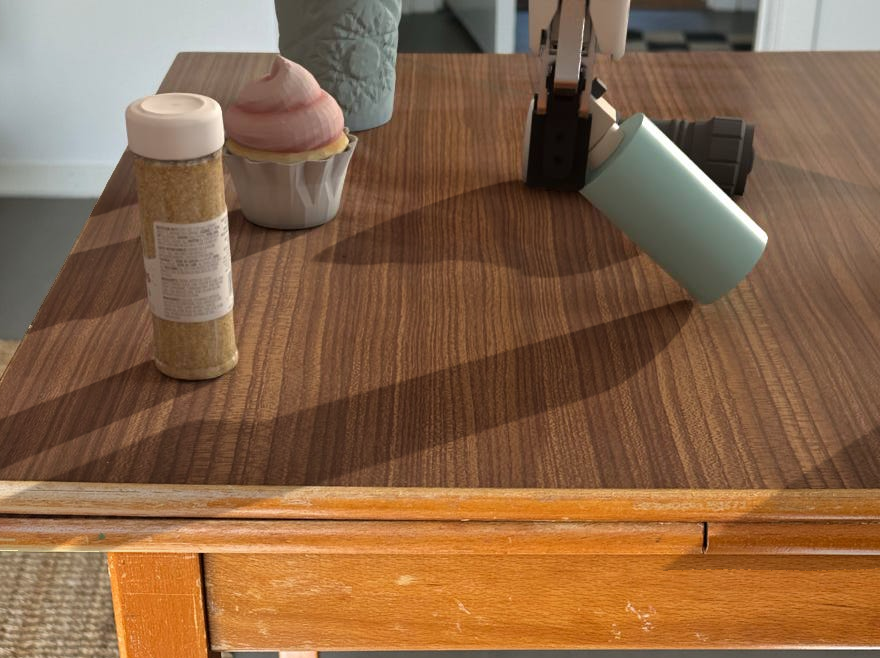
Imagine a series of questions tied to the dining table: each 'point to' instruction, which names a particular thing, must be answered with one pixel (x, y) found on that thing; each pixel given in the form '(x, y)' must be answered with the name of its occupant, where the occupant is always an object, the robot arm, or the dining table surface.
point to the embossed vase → (345, 52)
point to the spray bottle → (667, 204)
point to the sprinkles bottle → (184, 232)
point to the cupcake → (287, 149)
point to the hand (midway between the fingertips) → (555, 175)
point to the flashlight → (700, 147)
